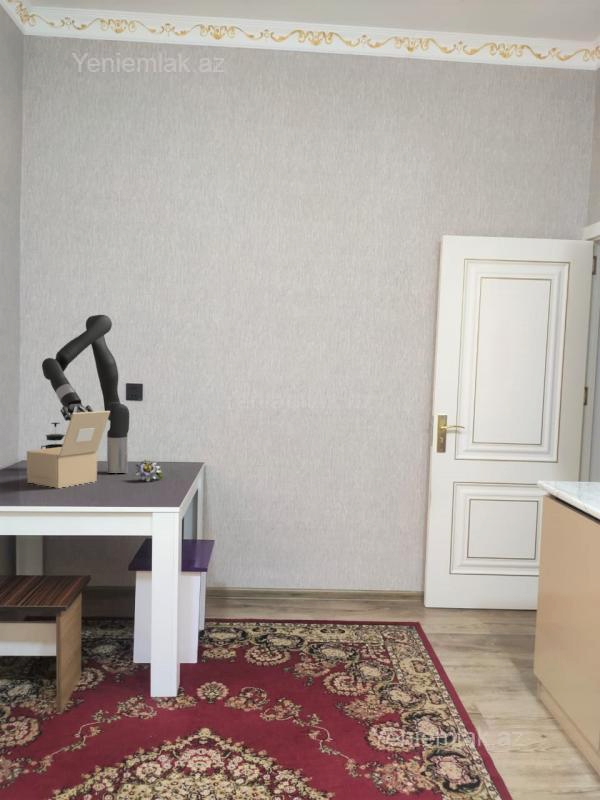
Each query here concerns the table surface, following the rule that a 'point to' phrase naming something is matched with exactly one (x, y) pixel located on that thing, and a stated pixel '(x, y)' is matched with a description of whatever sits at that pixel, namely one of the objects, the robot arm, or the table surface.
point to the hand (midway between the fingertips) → (86, 426)
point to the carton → (61, 468)
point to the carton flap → (84, 432)
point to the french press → (54, 439)
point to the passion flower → (148, 470)
